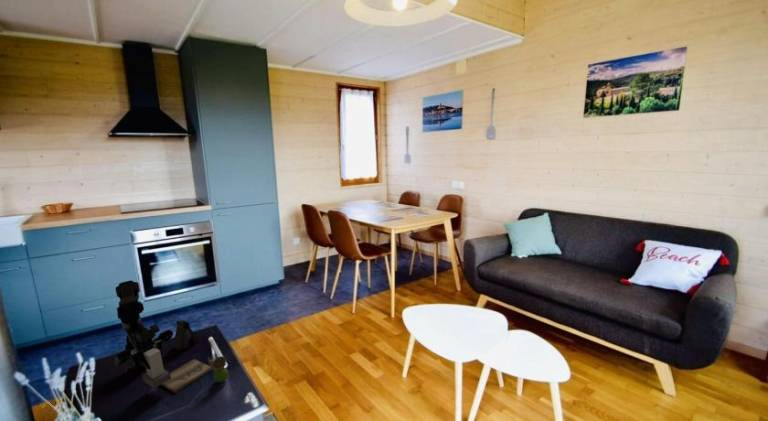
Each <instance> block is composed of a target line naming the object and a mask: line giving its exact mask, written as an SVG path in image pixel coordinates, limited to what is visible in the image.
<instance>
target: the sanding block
mask: <svg viewBox="0 0 768 421" xmlns="http://www.w3.org/2000/svg"><path fill="white" fill-rule="evenodd" d="M143 355H144V358H145V360H146V361H147V362H148V364H149V366H150V369H147V368H145V369H146V372H145V373H144V374H141V375H142V376H141V377H142V380H143V382H144V383H145V384H147V385H148V386H150V387H152V389H156V388H158V387H159V386H162V385H161V384H163V383H164V382H166V381H168V380H169V379H171V375H170V373H171V372H170V371H168V370H166V369H165V368H164V364H163V363H164V362H162V357H161V352H160V350H158V349H156V348H154V347H153V349H151V350H149V351H147V352H145V353H143Z"/></svg>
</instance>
